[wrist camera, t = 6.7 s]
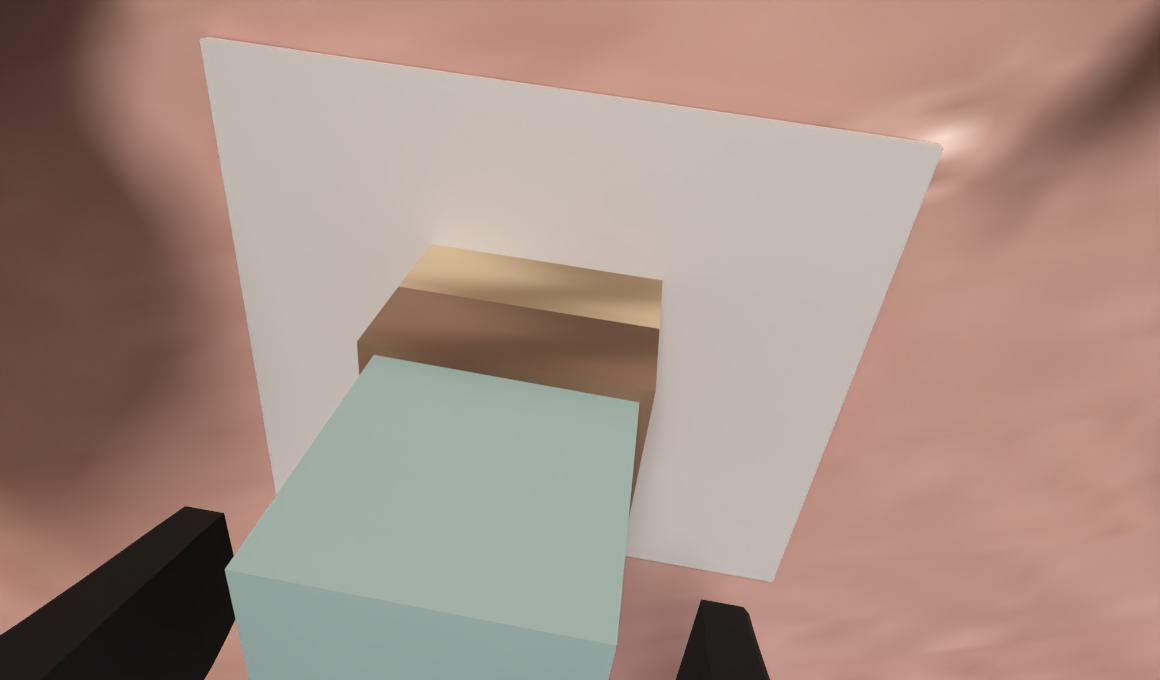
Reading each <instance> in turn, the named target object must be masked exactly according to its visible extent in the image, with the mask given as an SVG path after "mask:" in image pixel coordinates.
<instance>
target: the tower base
mask: <svg viewBox="0 0 1160 680" xmlns="http://www.w3.org/2000/svg"><path fill="white" fill-rule="evenodd" d="M662 281H663V280H656V279H650V278H644V277H638V276H631V275H625V274H619V273H612V272H606V271H600V270H593V269H587V268H581V267H574V266H568V265H562V264H556V263H549V262H543V261H537V260H530V259H524V258H518V257H511V256H505V255H499V254H492V253H486V252H480V251H473V250H467V249H461V248H455V247H448V246H442V245H436V244H430V245H429V247H428V248H427V249H426V251H425V252H424V253H423V255H422V256H421V257H420V259H419V260H418V261H417V263H416V264H415V265H414V267H413V268H412V269H411V271H410V272H409V273H408V275H407V276H406V277H405V278H404V280H403V281H402V282H401V284H400V285H399V286H398V287H405V288H411V289H417V290H423V291H429V292H435V293H442V294H448V295H454V296H460V297H466V298H473V299H479V300H485V301H491V302H497V303H503V304H510V305H516V306H522V307H528V308H534V309H540V310H547V311H553V312H559V313H565V314H571V315H578V316H584V317H590V318H596V319H602V320H608V321H614V322H621V323H627V324H633V325H639V326H645V327H652V328H658V329H660V313H661V297H662Z"/></svg>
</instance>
